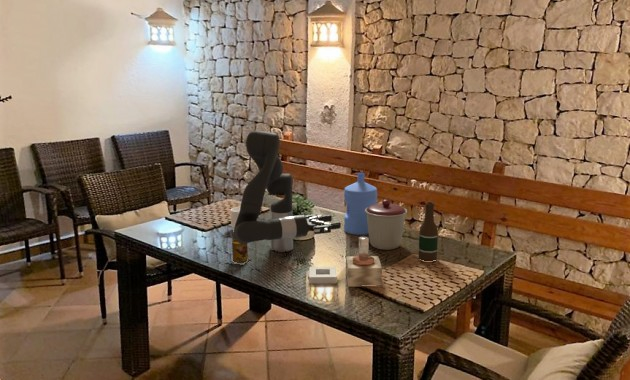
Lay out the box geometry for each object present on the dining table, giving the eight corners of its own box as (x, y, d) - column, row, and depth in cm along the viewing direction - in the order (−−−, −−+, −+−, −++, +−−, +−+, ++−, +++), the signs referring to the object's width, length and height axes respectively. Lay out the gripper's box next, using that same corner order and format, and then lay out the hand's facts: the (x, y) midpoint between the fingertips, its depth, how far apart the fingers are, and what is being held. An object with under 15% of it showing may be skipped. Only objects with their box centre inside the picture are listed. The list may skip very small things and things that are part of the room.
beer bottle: (433, 264, 212) (435, 206, 207) (414, 260, 216) (416, 203, 211) (439, 258, 219) (442, 201, 213) (421, 255, 223) (424, 199, 217)
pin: (353, 281, 194) (353, 242, 190) (351, 273, 202) (351, 234, 198) (375, 281, 194) (375, 241, 190) (372, 273, 202) (373, 234, 198)
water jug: (382, 228, 259) (383, 172, 252) (367, 237, 246) (368, 178, 239) (353, 223, 267) (354, 169, 260) (338, 232, 254) (338, 174, 247)
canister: (371, 237, 245) (372, 193, 241) (410, 242, 239) (411, 196, 234) (359, 250, 229) (359, 202, 224) (400, 255, 222) (401, 206, 218)
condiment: (244, 266, 213) (243, 237, 210) (225, 263, 215) (223, 235, 212) (251, 259, 219) (250, 231, 217) (233, 257, 222) (231, 230, 219)
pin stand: (309, 283, 195) (309, 277, 194) (309, 273, 205) (309, 266, 204) (336, 283, 195) (336, 276, 194) (335, 272, 205) (335, 266, 204)
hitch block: (348, 286, 192) (348, 268, 190) (346, 273, 204) (346, 256, 202) (381, 286, 192) (381, 267, 190) (377, 273, 204) (377, 256, 202)
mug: (243, 233, 253) (243, 213, 250) (227, 230, 258) (226, 210, 255) (259, 226, 263) (258, 206, 261) (243, 224, 268) (242, 204, 266)
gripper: (298, 222, 176) (343, 217, 181) (285, 210, 189) (328, 205, 194) (298, 244, 178) (343, 237, 183) (286, 230, 191) (328, 225, 196)
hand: (335, 221), depth 189 cm, fingers open, 8 cm apart
